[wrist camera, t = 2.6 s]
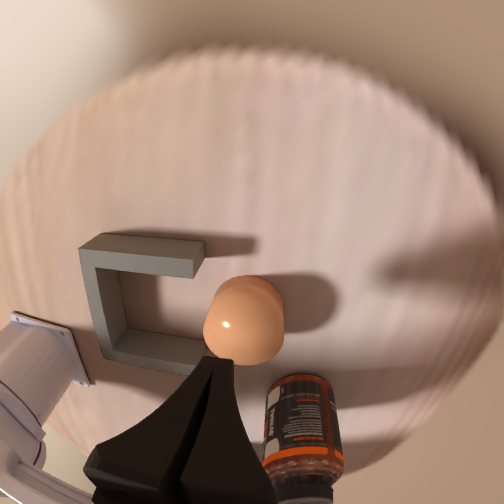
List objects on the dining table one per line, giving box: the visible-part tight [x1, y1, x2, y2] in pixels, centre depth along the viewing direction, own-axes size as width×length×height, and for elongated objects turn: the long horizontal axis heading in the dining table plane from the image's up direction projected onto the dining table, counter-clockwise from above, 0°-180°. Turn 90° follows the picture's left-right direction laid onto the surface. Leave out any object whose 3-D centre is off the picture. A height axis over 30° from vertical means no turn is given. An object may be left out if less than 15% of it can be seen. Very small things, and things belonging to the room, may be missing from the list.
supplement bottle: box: [262, 374, 344, 504], centre depth 19 cm, size 6×6×11 cm
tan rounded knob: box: [203, 276, 284, 366], centre depth 20 cm, size 5×5×4 cm
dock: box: [78, 233, 207, 376], centre depth 20 cm, size 8×9×3 cm
